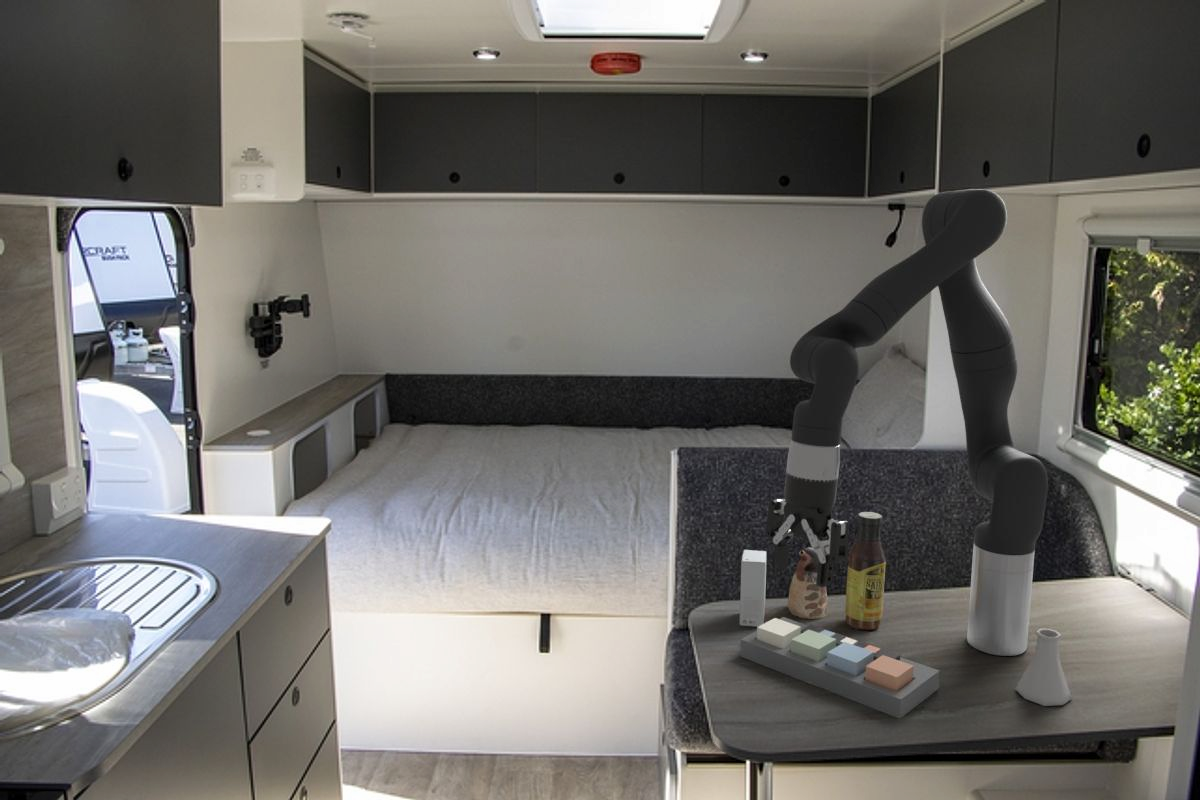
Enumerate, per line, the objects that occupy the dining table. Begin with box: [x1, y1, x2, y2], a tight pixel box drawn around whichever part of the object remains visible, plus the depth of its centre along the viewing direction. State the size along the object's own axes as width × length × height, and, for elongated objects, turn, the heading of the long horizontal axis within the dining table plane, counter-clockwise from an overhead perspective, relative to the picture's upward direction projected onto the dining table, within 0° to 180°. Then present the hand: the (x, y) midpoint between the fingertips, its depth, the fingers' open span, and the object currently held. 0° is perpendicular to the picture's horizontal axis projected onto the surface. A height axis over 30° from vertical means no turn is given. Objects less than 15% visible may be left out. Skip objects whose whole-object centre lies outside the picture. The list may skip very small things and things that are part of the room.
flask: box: [1014, 627, 1072, 707], centre depth 142 cm, size 7×7×10 cm
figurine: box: [787, 546, 829, 620], centre depth 172 cm, size 7×7×12 cm
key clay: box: [865, 655, 914, 692], centre depth 142 cm, size 5×5×2 cm
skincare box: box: [739, 549, 767, 628], centre depth 169 cm, size 6×4×12 cm
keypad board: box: [739, 616, 941, 720], centre depth 150 cm, size 12×28×4 cm, turn 45°
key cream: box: [756, 617, 801, 649], centre depth 155 cm, size 5×5×2 cm
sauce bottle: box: [844, 511, 887, 631], centre depth 166 cm, size 6×6×20 cm
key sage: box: [791, 630, 836, 662], centre depth 151 cm, size 5×5×2 cm
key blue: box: [827, 642, 874, 676], centre depth 147 cm, size 5×5×2 cm
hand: (801, 576), depth 144 cm, fingers open, 8 cm apart
